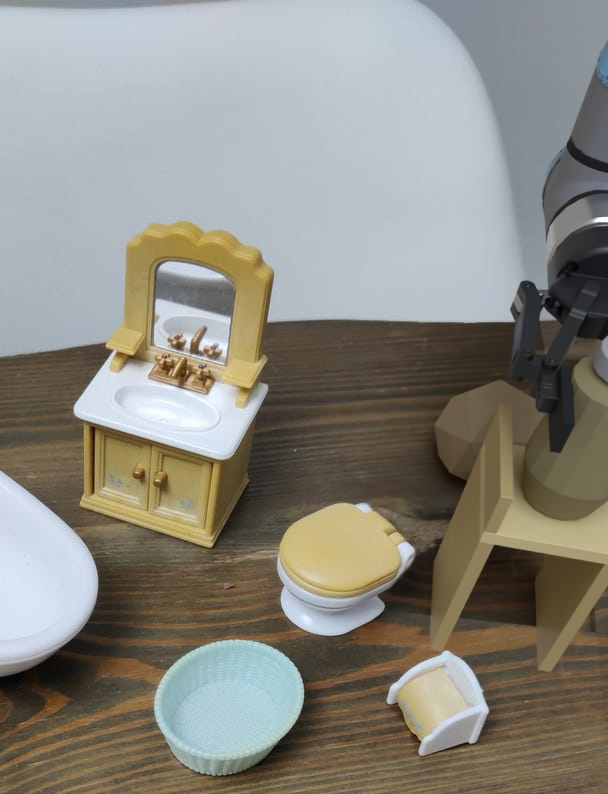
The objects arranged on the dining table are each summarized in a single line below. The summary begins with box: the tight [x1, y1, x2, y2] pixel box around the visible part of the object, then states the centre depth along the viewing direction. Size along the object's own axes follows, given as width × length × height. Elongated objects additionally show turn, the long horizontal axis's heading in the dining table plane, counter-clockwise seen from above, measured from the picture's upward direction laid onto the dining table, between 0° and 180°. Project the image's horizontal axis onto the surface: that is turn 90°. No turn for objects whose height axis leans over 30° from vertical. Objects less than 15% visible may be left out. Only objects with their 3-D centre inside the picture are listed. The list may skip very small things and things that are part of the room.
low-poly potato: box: [433, 379, 545, 482], centre depth 101 cm, size 15×11×12 cm
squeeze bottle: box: [523, 336, 608, 520], centre depth 73 cm, size 8×8×18 cm
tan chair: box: [428, 404, 608, 673], centre depth 85 cm, size 11×11×20 cm
